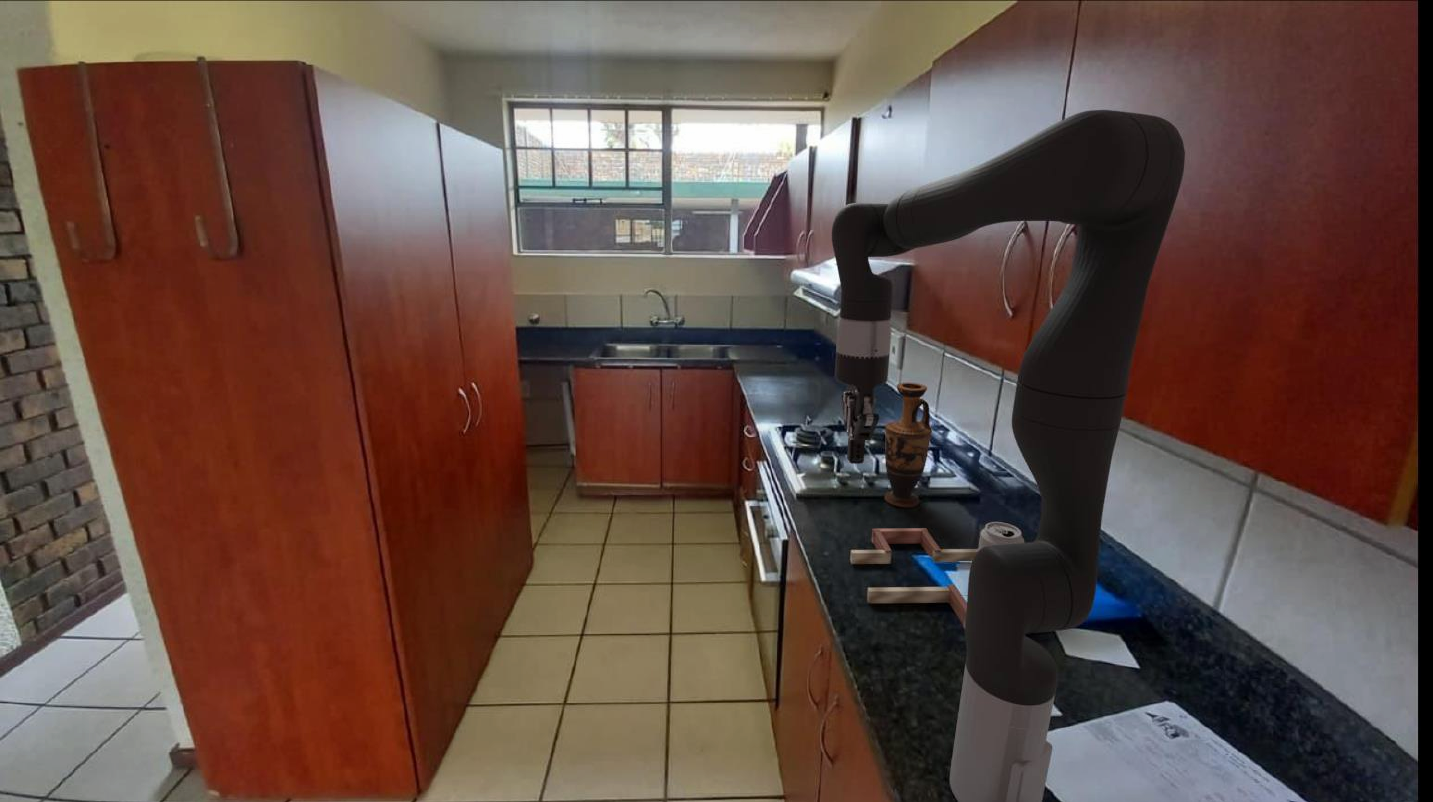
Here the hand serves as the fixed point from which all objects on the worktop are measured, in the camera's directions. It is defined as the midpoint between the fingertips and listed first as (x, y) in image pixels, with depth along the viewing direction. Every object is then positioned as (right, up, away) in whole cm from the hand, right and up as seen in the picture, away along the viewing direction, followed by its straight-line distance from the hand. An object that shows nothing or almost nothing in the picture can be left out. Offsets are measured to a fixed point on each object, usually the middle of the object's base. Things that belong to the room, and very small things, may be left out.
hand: (855, 461), depth 89 cm
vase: (+26, -16, +59) cm, 67 cm away
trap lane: (+23, -26, +25) cm, 43 cm away
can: (+33, -26, +24) cm, 48 cm away
